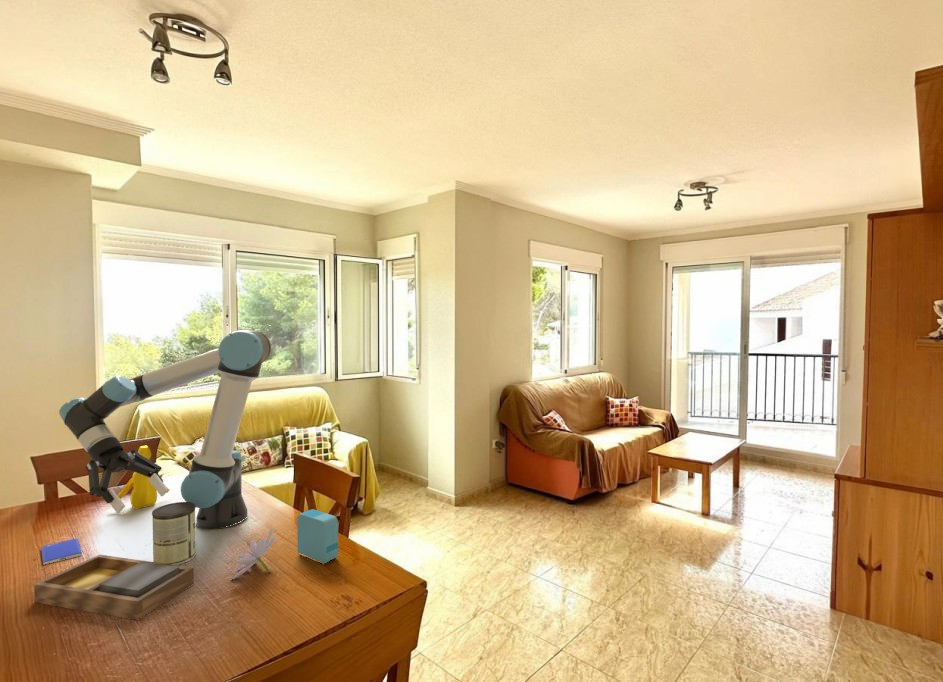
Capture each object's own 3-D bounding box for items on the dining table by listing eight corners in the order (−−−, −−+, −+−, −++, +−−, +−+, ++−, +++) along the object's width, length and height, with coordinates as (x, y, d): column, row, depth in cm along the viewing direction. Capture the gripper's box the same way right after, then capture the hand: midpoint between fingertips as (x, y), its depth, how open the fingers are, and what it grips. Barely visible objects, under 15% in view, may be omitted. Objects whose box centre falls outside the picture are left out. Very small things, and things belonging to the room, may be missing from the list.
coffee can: (148, 558, 134) (148, 508, 134) (190, 546, 141) (189, 499, 141) (157, 571, 127) (156, 518, 126) (200, 558, 134) (200, 508, 134)
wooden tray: (34, 602, 112) (34, 580, 112) (100, 569, 128) (100, 550, 127) (137, 620, 105) (137, 597, 105) (194, 583, 121) (194, 563, 121)
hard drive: (41, 546, 139) (43, 561, 130) (77, 537, 145) (82, 551, 136) (41, 551, 139) (43, 567, 130) (77, 542, 145) (82, 557, 136)
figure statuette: (168, 497, 183) (167, 439, 182) (174, 502, 177) (173, 442, 177) (110, 510, 170) (109, 447, 169) (115, 516, 164) (114, 451, 164)
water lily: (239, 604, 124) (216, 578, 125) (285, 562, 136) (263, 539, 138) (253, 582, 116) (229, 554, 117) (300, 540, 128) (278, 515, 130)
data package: (338, 559, 134) (338, 516, 133) (325, 566, 130) (325, 522, 130) (310, 548, 140) (310, 507, 140) (297, 554, 137) (296, 512, 136)
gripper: (133, 443, 152) (173, 494, 148) (47, 464, 127) (92, 527, 124) (147, 427, 150) (187, 479, 147) (62, 446, 126) (108, 508, 123)
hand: (144, 501), depth 136 cm, fingers open, 13 cm apart
